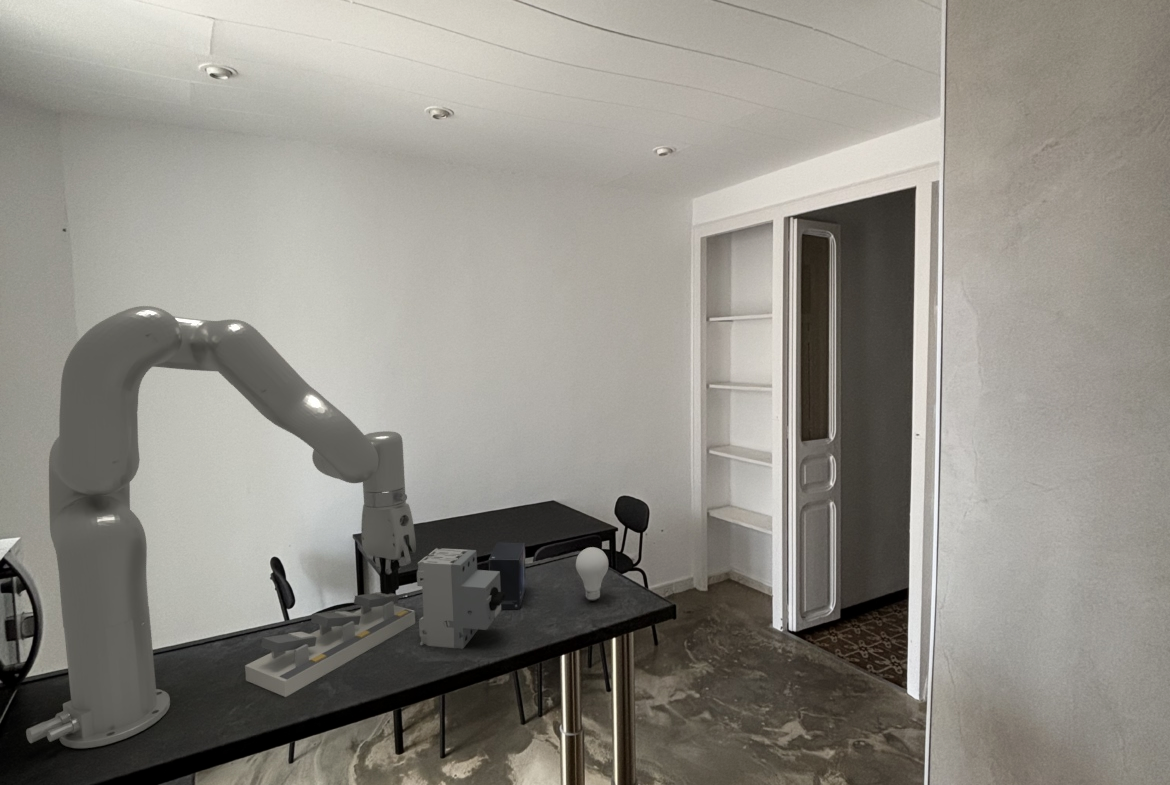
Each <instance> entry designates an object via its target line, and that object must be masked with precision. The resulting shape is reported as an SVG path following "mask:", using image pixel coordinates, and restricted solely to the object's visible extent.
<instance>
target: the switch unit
mask: <svg viewBox="0 0 1170 785" xmlns="http://www.w3.org/2000/svg"><path fill="white" fill-rule="evenodd" d="M353 613H354V614H357V615H358V616H361V617H360V622H359V625H354V622H353V621H351V622H349V623H347V624H345V625H343V626H335V627H324V626H321V625H318V626H319V629H318V630H315V631H314V632H311V633H309V634H310V635H313V636H314V637H317V638H316V644H315V646H313V647H308V645H307V644H305V645H303V646H301V647H299V648H297V649H295V650H290V651H284V652H278V653H276V652H273V651H271V652H270V653H268V654H266V655H264V656H262V657H259V658H257V659H256V660H254V661H251V662H248V663H247V664H246V665H244V669H245V670H244V672H245V681H246V682H248V683H251V684H253V685H256V686H258V687H260V688H263V689H266V690H268V691H270V692H272V693H275V694H276V695H279V696H282V697H284V698H287V697H289V696H290V695H292V694H294V693H296V692H297V691H300V689H302V688H304V687H306V686H308V685H309V684H312V683H313V682H315V681H317V680H318V679H320V678H321V677H324V676H326V675H327V674H329V673H330V672H332V671H334V670H336V669H338V668H339V667H342V666H344V665H345V664H347V663H349V662H350V661H352V660H354V659H355V658H357V657H359V656H360V655H362V654H364V653H366V652H367V651H369V650H371V649H373V648H374V647H377V646H378V645H380V644H382V643H384V642H385V641H387V640H389V639H390V638H393V637H394V636H396V635H397V634H399V633H401V632H403V631H405V630H406V629H408V628H410V627H411V626H413V625H415V624H416V611H415V610H414V609H413V610H412V609H410V608H406V607H402V606H398V605H395V604H394V602H392V601H391V602H389V603H387V604H385V605H383V606H378V607H371V608H368V607H364V606H360V609H358V610H356V611H354V612H353Z"/></svg>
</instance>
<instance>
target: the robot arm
mask: <svg viewBox="0 0 1170 785" xmlns="http://www.w3.org/2000/svg"><path fill="white" fill-rule="evenodd" d="M153 367H154V368H163V369H165V368H167V369H177V370H187V371H201V372H202V371H203V372H217V373H219V374H220V375H221V376H222V377H223V378H224V379H225V380H226V381H227V382H228V383H229V384H230V385H232V387H234V388H235V389H236V390H237V391H238V392H239V393H240V394H241V395H242V396H243V397H244V398H245V399H246V400H247V401H248V402H249V403H250V404H251V405H252V406H253V407H254V408H255V409H256V410H257V412H259V413H260V414H261V415H262V416H263V417H264V418H265V419H266V420H268V421H270V422H271V423H272V424H274V425H275V426H277V427H279V428H281V429H282V430H284V431H285V432H289V433H290V434H292V435H294V436H295V437H297V438H299V439H300V440H301V441H302V442H304V443H305V444H306V445H308V446H310V448H311V449H312V450H313V452H312V455H311V456H312V463H313V465H314V467H315V468H316V470H318V471H319V472H320V473H322V474H324V475H325V476H328V477H330V478H333V479H338V480H340V481H343V482H346V483H349V484H361V483H362V490H363V493H362V494H363V505H362V513H361V532H360V533H361V546H362V551H363V552H364V553H365V555H366V558H368V559H370V560H371V561H373V562H374V564H375V567H376V572H378V574H379V588H380V589H379V590H380V591H379V592H381V593H385V594H390V593H394V592H396V591H398V590H399V588H400V579H399V576H400V575H399V571H400V570H401V568H402V567H403V566H405V567H406V566H408V565H409V564H411V563H412V561H411V560H412V559H411V556H410V555H412V554H414V553H415V552H416V549H417V547H416V546H417V545H416V544H417V543H416V534H415V525H414V519H413V515H412V511H411V506H410V505H409V503H407V499H408V495H407V494H406V482H405V464H404V461H405V460H404V442H403V438H402V435H401V434H400V433H398V432H396V431H391V430H390V431H389V430H388V431H384V430H383V431H373V432H369V433H366V434H364V433H363V432H362V431H361V429H360V428H358V426H356V424H355V423H354V422H353V421H352V420H351V419H350V418H349V417H348V416H347V415H346V414H344V413H343V412H342V411H341V410H339V409H338V408H337V407H336V406H335V405H333V403H331V402H330V401H329V400H328V399H326V398H325V397H324V396H323V395H322V394H320V392H318V391H317V390H316V389H314V388H313V387H312V386H311V385H310V384H308V383H307V382H306V380H304V378H302V377H301V376H300V374H298V372H297V371H296V370H295V369H294V368H293V367H292V366H291V365H290V364H289V363H288V362H287V360H286V359H285V358H284V357H283V356H282V355H281V354H280V353H279V352H278V351H277V350H276V349H275V348H274V346H272V345H271V343H270V342H269V341H268V340H267V339H266V338H265V336H264V335H262V333H261V332H259V331H258V330H257V329H256V328H255V327H254V326H253V325H251V324H250V323H247V322H246V321H243V320H239V319H222V320H206V319H198V318H197V319H195V318H189V317H181V316H173V315H172V314H171V313H170V312H168V311H167V310H164V309H162V308H159V307H156V306H150V305H149V306H148V305H147V306H146V305H141V306H140V305H139V306H134V307H130V308H128V309H125V310H122V311H119V312H117V313H115V314H112V315H111V316H109V317H106V318H105V319H103V320H101V321H99V322H97V323H95V325H93V326H92V327H91V328H90V329H89V330H88V331H85V333H84V334H83V335H82V336H81V337H80V338H79V339H78V341H77V342H76V343H75V344H74V345H73V347H72V349H71V350H70V352H69V353H68V356H67V358H66V360H65V362H64V366H63V369H62V374H61V383H60V401H59V402H60V403H59V415H58V416H59V418H58V420H59V424H58V425H59V430H58V431H59V432H58V433H59V434H58V437H57V438H56V439H55V440H54V442H53V444H52V446H51V448H50V451H49V458H48V502H49V503H48V504H49V506H48V508H49V531H50V538H51V541H52V543H53V547H54V550H55V554H56V562H57V569H58V578H59V579H58V580H59V592H60V594H59V595H60V596H59V597H60V606H61V607H60V608H61V616H62V626H63V631H64V642H65V651H66V652H65V653H66V662H67V670H68V682H69V692H70V700H68V701H66V702H64V703H62V709H63V711H61V712H57V713H56V714H55V717H53V718H50V719H49V720H46V721H42V722H40V723H38V724H35V725H33V726H30V727H29V728H27V729H26V731H25V733H26V739H27V741H28V742H29V743H30V744H33V743H35V742H37V741H39V740H41V739H43V738H47V740H48V741H49V742H53V741H55V740H58V739H59V741H60V743H61V744H62V745H63V746H65V747H68V748H72V749H89V748H90V749H92V748H98V747H103V746H106V745H110V744H114V743H117V742H120V741H122V740H126V739H128V738H130V737H133V736H135V735H137V734H139V733H141V732H143V731H145V730H146V729H148V728H150V727H151V726H153V725H154V724H156V723H157V722H158V721H160V720H161V718H163V717H164V716H165V715H166V714H167V712H168V711H169V709H170V707H171V706H170V705H171V698H170V694H169V693H168V692H167V691H165V690H162V689H159V688H157V684H156V676H155V675H156V674H155V673H156V672H155V659H154V651H153V650H154V649H153V636H152V627H151V617H150V616H151V615H150V606H149V595H148V584H147V583H148V582H147V581H148V580H147V558H148V556H147V553H148V552H147V549H148V546H147V537H146V532H145V529H144V526H143V525H142V522H141V520H140V519H139V517H138V516H137V515H136V514H135V512H133V511H132V510H131V504H130V503H131V500H130V498H131V497H130V496H131V493H130V490H131V489H130V488H131V487H130V486H131V485H130V483H131V481H132V480H133V479H134V478H135V476H136V475H137V473H138V470H139V466H140V450H139V431H138V430H139V428H138V426H139V424H138V423H139V422H138V410H139V409H138V408H139V392H140V388H141V384H142V381H143V379H144V378H145V376H146V374H147V373H148V372H149V371H150V369H152V368H153Z"/></svg>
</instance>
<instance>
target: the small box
mask: <svg viewBox="0 0 1170 785" xmlns="http://www.w3.org/2000/svg"><path fill="white" fill-rule="evenodd" d="M525 545H526V544H525V542H500V541H499V542H496V544H495V546H494V548H493V550H492V551H491V554H490V556H489V558H488V571H500V587H501V592H505V597H506V598H505V599H504V601H502V603H501V610H520V609H521V605H522V603H523V599H524V595H525V593H526V586H527V585H526V584H527V582H526V579H527V578H526V575H527V574H526V548H525Z"/></svg>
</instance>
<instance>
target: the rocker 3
mask: <svg viewBox="0 0 1170 785" xmlns="http://www.w3.org/2000/svg"><path fill="white" fill-rule="evenodd" d="M399 597H400V595H397V594H396V593H394V592H392V593H390V594H385V593H381V591H377V592H374V593H373V592H372V593H366V594H359V595H358V594H357V595H354V600H353V604H354V605H357V606H360V607H361V606H364V607H368V608H371V607H378V606H383V605H385V604H387V603H389V602H391V601H392V602H394V605H395V604H398V603H399V599H400V598H399Z"/></svg>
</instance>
